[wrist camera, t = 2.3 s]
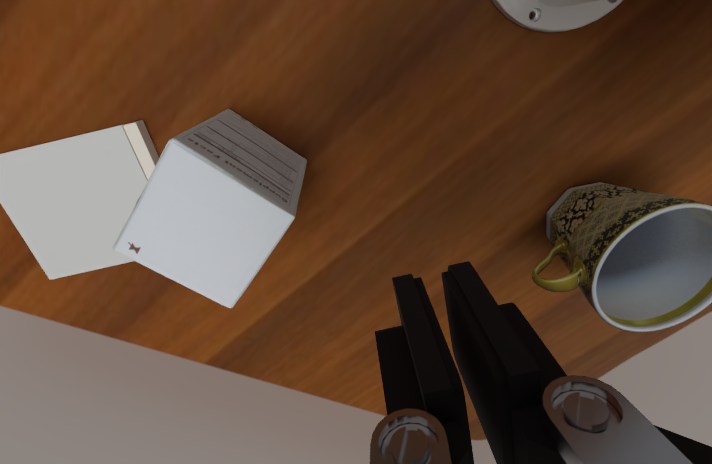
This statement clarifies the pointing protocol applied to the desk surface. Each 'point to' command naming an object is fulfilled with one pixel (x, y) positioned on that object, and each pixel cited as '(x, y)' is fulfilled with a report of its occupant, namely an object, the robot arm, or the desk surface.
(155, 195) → the supplement box
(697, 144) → the desk surface
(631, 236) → the ceramic cup
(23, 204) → the mat
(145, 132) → the strip
